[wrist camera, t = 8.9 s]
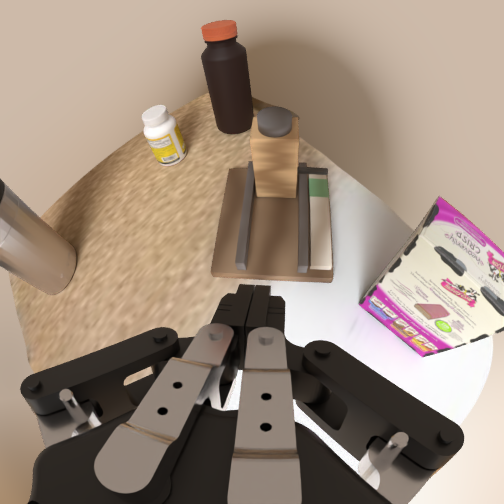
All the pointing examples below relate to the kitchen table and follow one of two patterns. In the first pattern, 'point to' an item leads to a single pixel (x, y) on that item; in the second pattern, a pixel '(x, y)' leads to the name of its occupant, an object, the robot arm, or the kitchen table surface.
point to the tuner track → (274, 231)
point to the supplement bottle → (163, 135)
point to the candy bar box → (441, 285)
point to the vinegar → (227, 77)
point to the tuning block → (277, 153)
